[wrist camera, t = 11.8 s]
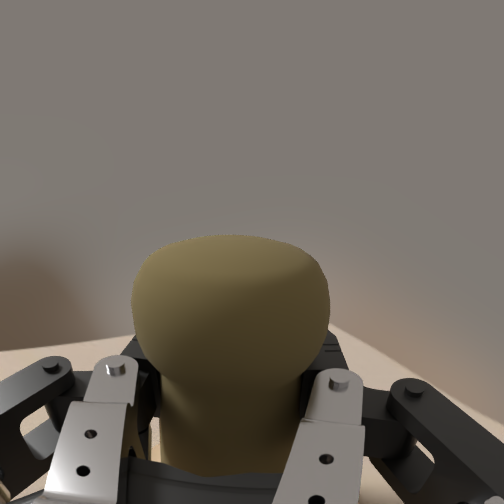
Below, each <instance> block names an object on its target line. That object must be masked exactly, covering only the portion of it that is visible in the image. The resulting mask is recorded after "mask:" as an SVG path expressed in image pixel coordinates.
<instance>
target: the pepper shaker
mask: <svg viewBox="0 0 504 504" xmlns="http://www.w3.org/2000/svg"><path fill="white" fill-rule="evenodd" d="M131 306H132V313H133V319H134V327H135V332H136V338H137V340H138V342H139V344H140V347H141V349H142V351H143V353H144V355H145V357H146V358H147V359H148V360H149V362H150V363H151V364H152V365H153V366H154V367H155V368H156V369H157V370H158V371H159V379H160V418H159V427H160V455H161V463H165V464H168V465H170V466H173V467H175V468H178V469H181V470H184V471H187V472H189V473H192V474H195V475H198V476H202V477H216V476H226V475H235V474H243V473H250V472H251V473H283V472H284V470H285V467H286V464H287V461H288V458H289V455H290V452H291V449H292V446H293V443H294V440H295V437H296V434H297V431H298V428H299V424H300V415H299V406H300V394H301V376H302V373H303V372H304V371H305V370H306V369H307V368H308V367H309V366H310V364H311V363H312V362H313V361H314V359H315V358H316V357H317V355H318V354H319V352H320V349H321V347H322V345H323V343H324V340H325V338H326V336H327V331H328V324H329V317H330V297H329V291H328V283H327V280H326V278H325V276H324V274H323V272H322V270H321V268H320V266H319V264H318V262H317V261H316V260H315V259H314V258H313V257H311V256H310V255H309V254H307V253H306V252H305V251H303V250H302V249H300V248H298V247H295V246H293V245H291V244H287V243H283V242H279V241H275V240H271V239H266V238H262V237H255V236H244V235H214V236H204V237H197V238H193V239H188V240H184V241H180V242H176V243H172V244H169V245H167V246H164V247H162V248H160V249H159V250H157V251H156V252H154V253H153V254H151V255H150V256H149V257H148V258H147V259H146V260H145V262H144V263H143V265H142V267H141V269H140V271H139V272H138V274H137V276H136V278H135V280H134V285H133V291H132V298H131Z"/></svg>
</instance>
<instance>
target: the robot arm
mask: <svg viewBox="0 0 504 504" xmlns="http://www.w3.org/2000/svg"><path fill="white" fill-rule="evenodd" d="M42 406H45V408H46V411H47V413H48V415H49V419H48V420H46V421H45V422H44V423H42V424H41V425H39V426H38V427H36V428H35V429H33V430H32V431H31V432H29V433H28V434H26V435H25V436H22V434H21V432H20V424H21V422H22V420H23V419H24V418H25V417H27V416H28V415H30V414H31V413H33V412H35V411H36V410H38V409H39V408H41V407H42ZM299 415H300V424H299V428H298V431H297V434H296V437H295V440H294V443H293V446H292V449H291V452H290V455H289V458H288V461H287V464H286V467H285V470H284V472H283V473H251V472H250V473H243V474H235V475H226V476H216V477H202V476H198V475H195V474H192V473H189V472H187V471H184V470H181V469H178V468H175V467H173V466H170V465H168V464H165V463H161V462H156V461H151V436H152V430H151V425H150V422H151V420H152V418H153V417H158V418H160V379H159V371H158V370H157V369H156V368H155V367H154V366H153V365H152V364H151V363H150V362H149V360H148V359H147V358H146V357H145V355H144V353H143V351H142V349H141V347H140V344H139V342H138V340H137V338H136V335H135V336H134V337H133V339H132V341H130V343H129V344H128V345H127V346H126V348H125V349H124V350H123V352H122V353H121V354H120V355H114V356H109V357H106V358H103V359H101V360H100V361H99V362H97V364H96V365H95V367H94V370H93V371H73V369H72V366H71V363H70V361H69V360H68V359H67V358H64V357H61V356H50V357H46V358H43V359H41V360H39V361H37V362H35V363H33V364H31V365H30V366H28V367H26V368H24V369H22V370H20V371H19V372H17V373H15V374H13V375H11V376H10V377H8V378H6V379H4V380H2V381H1V382H0V504H358V500H359V492H360V483H361V474H362V464H363V456H367V457H369V460H370V461H371V463H372V464H373V465H374V467H375V468H376V469H377V470H378V472H379V473H380V474H381V475H382V477H383V478H384V479H385V480H386V482H387V483H388V484H389V485H390V486H391V488H392V489H393V490H394V491H395V493H396V494H397V495H398V496H399V497H400V499H401V500H402V501H403V502H404V504H504V444H503V443H502V442H501V441H500V440H499V439H497V438H496V437H495V436H494V435H492V434H491V433H490V432H489V431H487V430H486V429H485V428H484V427H482V426H481V425H480V424H479V423H477V422H476V421H475V420H474V419H472V418H471V417H470V416H469V415H467V414H466V413H465V412H464V411H462V410H461V409H460V408H459V407H457V406H456V405H455V404H454V403H452V402H451V401H450V400H449V399H447V398H446V397H445V396H444V395H442V394H441V393H440V392H439V391H437V390H436V389H435V388H433V387H432V386H431V385H430V384H428V383H426V382H425V381H422V380H419V379H414V378H404V379H400V380H397V381H396V382H394V383H393V384H392V386H391V389H390V391H383V390H376V389H371V388H367V387H365V386H363V381H362V379H361V377H360V376H359V375H357V374H356V373H354V372H352V371H349V369H348V366H347V363H346V361H345V358H344V356H343V353H342V352H341V348H340V345H339V343H338V340H337V338H336V336H335V335H334V334H332V333H331V332H330V331H329V330H328V331H327V336H326V338H325V340H324V343H323V345H322V347H321V349H320V352H319V354H318V355H317V357H316V358H315V359H314V361H313V362H312V363H311V364H310V366H309V367H308V368H307V369H306V370H305V371H304V372H303V373H302V376H301V394H300V406H299ZM417 441H419V442H420V443H421V444H422V445H423V446H424V447H425V448H426V449H427V450H428V451H429V452H430V453H431V454H432V456H433V458H434V462H435V464H434V463H433V462H432V461H431V460H430V459H429V458H428V457H427V456H426V455H425V454H424V453H423V452H422V451H421V450H420V449H419V448H418V447H417V446H416V443H417ZM48 471H49V474H48V477H47V481H46V485H45V489H42V490H40V491H37V492H35V493H32V494H30V495H27V496H24V497H22V498H19V499H16V500H14V501H11V502H10V500H11V499H13V498H14V497H15V496H17V495H18V494H19V493H21V492H22V491H23V490H24V489H26V488H27V487H28V486H30V485H31V484H32V483H34V482H35V481H36V480H37V479H39V478H40V477H41V476H42V475H44V474H45V473H46V472H48Z"/></svg>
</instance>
